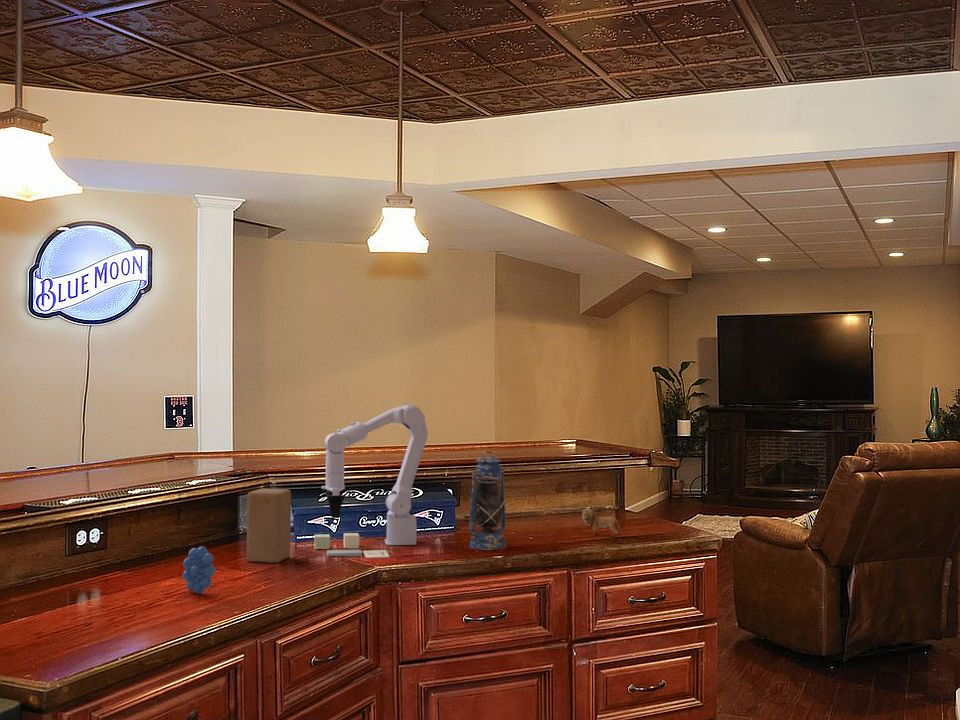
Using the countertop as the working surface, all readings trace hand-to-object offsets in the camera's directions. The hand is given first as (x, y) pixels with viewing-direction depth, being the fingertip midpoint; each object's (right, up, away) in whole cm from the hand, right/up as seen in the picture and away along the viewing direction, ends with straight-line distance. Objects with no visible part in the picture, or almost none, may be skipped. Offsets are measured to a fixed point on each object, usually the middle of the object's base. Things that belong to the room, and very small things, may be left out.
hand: (334, 515), depth 310 cm
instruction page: (+14, -10, -12) cm, 21 cm away
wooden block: (-16, -10, -21) cm, 28 cm away
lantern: (+48, -10, +2) cm, 49 cm away
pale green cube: (-3, -10, -3) cm, 11 cm away
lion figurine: (+86, -11, +24) cm, 90 cm away
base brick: (+5, -10, -13) cm, 17 cm away
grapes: (-24, -10, -63) cm, 68 cm away
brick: (+5, -10, -1) cm, 11 cm away
